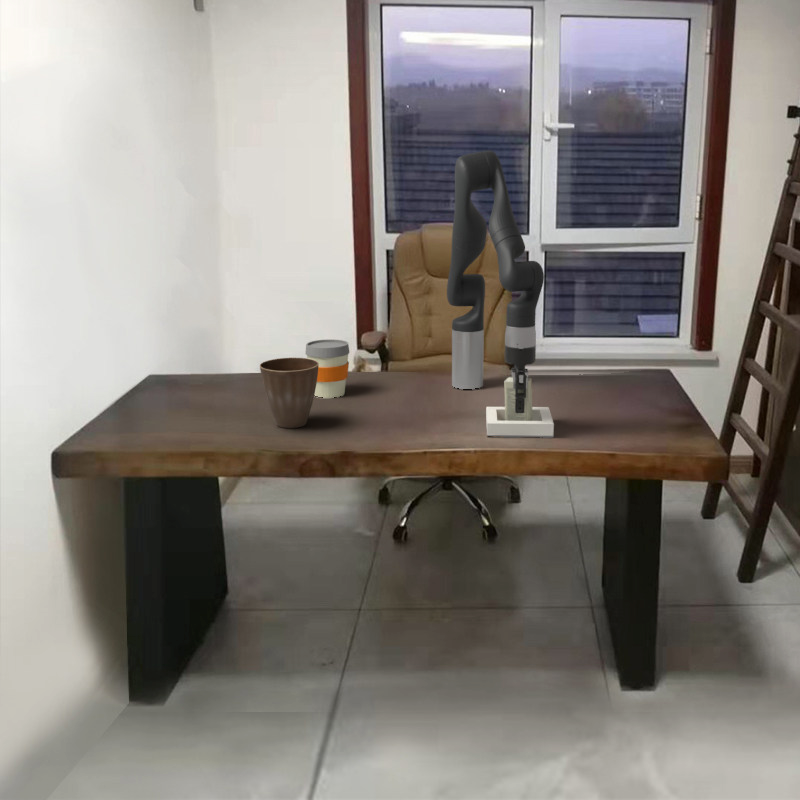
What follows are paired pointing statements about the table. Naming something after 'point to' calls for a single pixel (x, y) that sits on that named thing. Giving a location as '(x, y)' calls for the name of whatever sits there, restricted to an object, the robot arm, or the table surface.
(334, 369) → the reusable coffee cup
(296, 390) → the plant pot
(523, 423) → the holder
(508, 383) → the skincare box
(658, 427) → the table surface
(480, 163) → the robot arm
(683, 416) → the table surface
